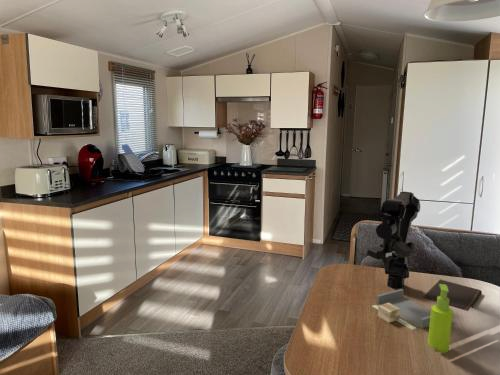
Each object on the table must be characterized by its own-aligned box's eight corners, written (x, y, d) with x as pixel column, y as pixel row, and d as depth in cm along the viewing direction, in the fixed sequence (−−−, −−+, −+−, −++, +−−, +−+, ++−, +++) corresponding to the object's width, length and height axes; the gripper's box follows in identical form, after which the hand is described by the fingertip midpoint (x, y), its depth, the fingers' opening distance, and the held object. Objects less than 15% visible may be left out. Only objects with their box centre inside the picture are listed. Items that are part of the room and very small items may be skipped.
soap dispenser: (446, 343, 119) (453, 284, 116) (449, 355, 113) (457, 293, 110) (425, 339, 121) (432, 281, 118) (428, 351, 115) (434, 290, 111)
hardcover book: (422, 302, 148) (422, 296, 148) (439, 284, 165) (440, 279, 165) (468, 316, 138) (468, 310, 137) (481, 295, 154) (482, 290, 154)
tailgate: (375, 304, 141) (361, 309, 138) (416, 328, 125) (401, 333, 122) (375, 307, 141) (361, 311, 138) (416, 330, 126) (401, 336, 122)
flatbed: (400, 299, 149) (401, 288, 148) (447, 323, 131) (448, 311, 131) (376, 306, 143) (376, 295, 142) (421, 332, 125) (422, 320, 125)
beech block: (387, 312, 135) (388, 302, 134) (399, 319, 131) (399, 308, 130) (377, 316, 133) (378, 305, 132) (388, 322, 129) (389, 312, 128)
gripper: (390, 241, 132) (387, 283, 135) (426, 235, 140) (422, 274, 143) (367, 233, 142) (364, 272, 144) (402, 227, 150) (398, 264, 153)
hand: (388, 271), depth 146 cm, fingers closed
